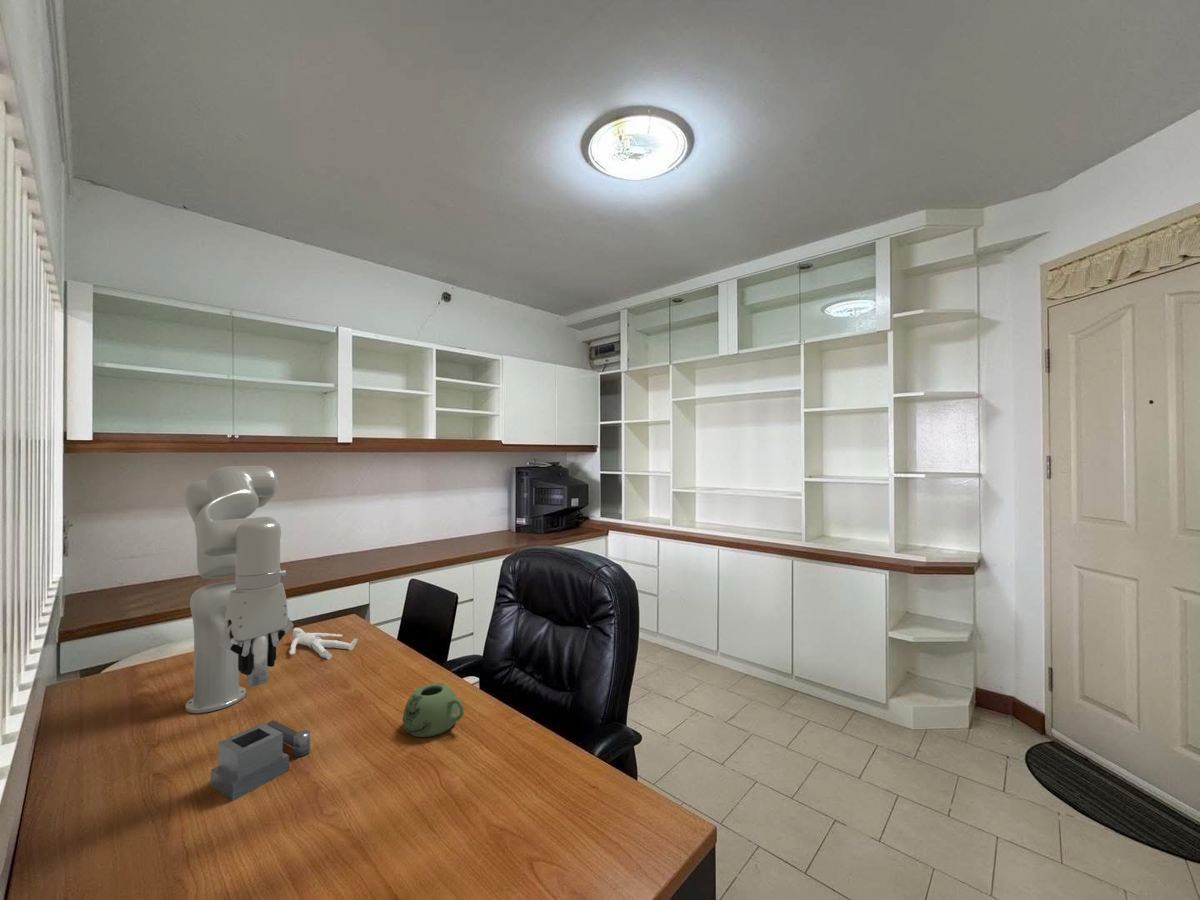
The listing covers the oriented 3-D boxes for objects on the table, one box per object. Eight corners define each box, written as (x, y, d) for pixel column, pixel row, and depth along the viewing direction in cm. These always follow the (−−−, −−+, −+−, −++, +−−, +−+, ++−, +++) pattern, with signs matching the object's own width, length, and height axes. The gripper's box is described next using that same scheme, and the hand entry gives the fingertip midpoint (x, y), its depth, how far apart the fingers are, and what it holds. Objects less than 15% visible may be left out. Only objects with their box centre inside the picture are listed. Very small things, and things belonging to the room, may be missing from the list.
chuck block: (210, 785, 93) (211, 744, 93) (266, 757, 102) (266, 720, 102) (232, 800, 89) (233, 758, 89) (288, 770, 97) (289, 731, 97)
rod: (243, 683, 96) (243, 630, 96) (262, 676, 99) (263, 624, 100) (252, 687, 94) (252, 632, 95) (271, 680, 98) (272, 627, 98)
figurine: (312, 671, 148) (266, 647, 158) (364, 650, 165) (319, 629, 175) (314, 654, 148) (267, 632, 158) (366, 634, 164) (320, 615, 175)
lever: (260, 737, 109) (260, 719, 109) (274, 730, 111) (274, 713, 111) (298, 758, 101) (298, 739, 101) (312, 750, 103) (313, 732, 104)
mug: (390, 734, 110) (390, 697, 110) (429, 707, 122) (429, 674, 122) (444, 749, 104) (444, 710, 104) (480, 719, 116) (480, 684, 116)
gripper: (290, 570, 106) (289, 651, 106) (201, 588, 92) (200, 682, 91) (309, 574, 103) (308, 657, 102) (219, 592, 88) (218, 690, 88)
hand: (257, 668), depth 97 cm, fingers closed on rod, 3 cm apart
